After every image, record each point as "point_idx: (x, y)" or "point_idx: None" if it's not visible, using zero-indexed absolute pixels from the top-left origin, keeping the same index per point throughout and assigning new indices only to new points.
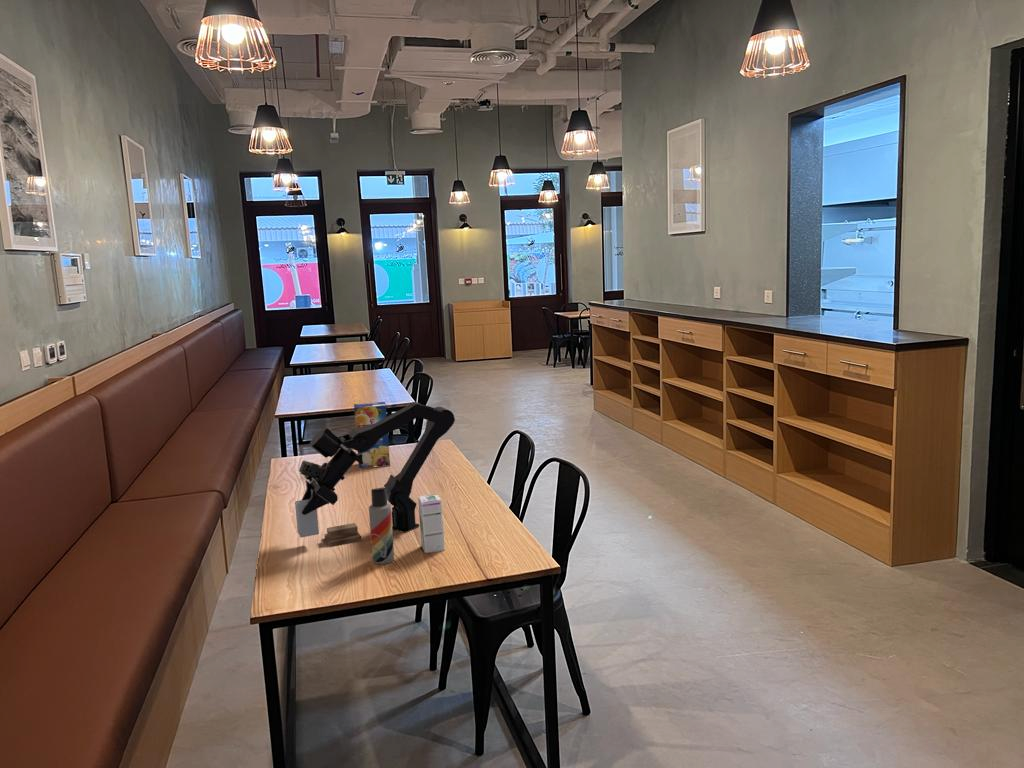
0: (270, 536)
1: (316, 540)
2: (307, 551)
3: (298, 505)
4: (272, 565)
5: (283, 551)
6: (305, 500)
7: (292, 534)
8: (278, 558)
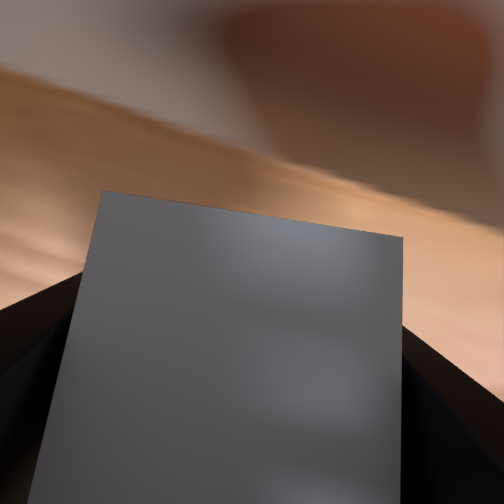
0: (499, 235)
1: None
2: None
3: (150, 215)
4: (49, 115)
5: None
6: (352, 405)
7: (472, 352)
8: (128, 169)
